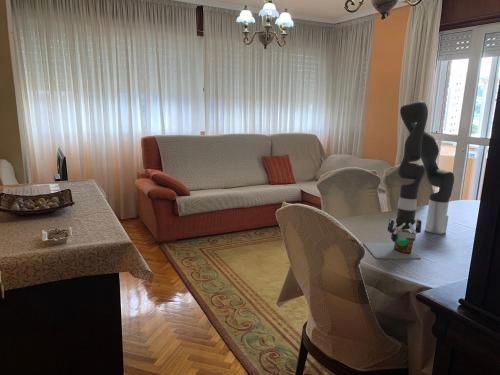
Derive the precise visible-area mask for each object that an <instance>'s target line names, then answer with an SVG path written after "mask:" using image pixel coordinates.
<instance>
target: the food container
mask: <svg viewBox="0 0 500 375" xmlns="http://www.w3.org/2000/svg"><path fill="white" fill-rule="evenodd" d="M414 239H415V240H416V238H415V234H412V232H411V230H409V229H400V230H399V231H398V232H397V233H396V241H395V242H393V243H394V249H395V250H396V251H398V252H401V253H405V254H411V250H413V245H414V242H415V241H414Z"/></svg>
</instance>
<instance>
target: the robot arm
mask: <svg viewBox="0 0 500 375" xmlns="http://www.w3.org/2000/svg"><path fill="white" fill-rule="evenodd" d="M399 113H400V118H401V119H402V122H403V125H405V127H406V129H407V131H408V133H409V135H408V136H407V138H406V140H405V143H404V149H403V150H404V151H403V157H402V160H401V163H400V165H399V167H398V171H397V173H398V176H399V178H401V179H405V180H406V179H407V180H413V181H412V182H409V183H403V184H402V185H401V186H400V192H399V198H398V203H397V212H396V219H392V218H389V219H388V224H387V226H388V227H387V232H389V233H390V234H391V235H390V240H391V241H392V243H395V241H396V233H397V232H398V231H399V230H400V229H406V230H409V231H410V232H411V233H412V234H415V239H414V242H415V241H416V236H417V234H421V232H422V220H420V219H419V218H416V214H417V213H416V211H417V206H418V205H417V204H418V202H417V199H418V192H419V187H420V185H421V181H422V180H423V178H424V176H425V175H426V178H427V180H428V183H429V184H430V185H431V186H433V187H435V188H436V187H437V188H439V189H438V192H432V193H430V194H429V199H428V207H427V214H426V222H425V227H424V228H425V229H424V230H425V232H428V233H431V234H435V235H436V234H437V235H442V234H447V228H448V221H449V215H448V209H449V203H450V199H451V197H452V193H453V187H454V184H455V183H454V182H455V174H454V173H453V172H452V171H449V170H445V169H440V168H439V167H438V164H437V158H438V155H439V152H440V148H439V146H438V143H437V141H436V139H435V137H434V136H432V135H431V134H430V133H428V132H427V131H426V130H425V129H426V126H427V121H428V116H429V110H428V106H427V104H426V102H425V101H423V100H419V101H414V102H412V103H408V104H407V103H406V104H405V105H402V106H401V107H400V109H399ZM420 160H421V162H422V163H417V162H418V161H420ZM425 173H426V174H425ZM415 218H416V219H415ZM414 224H415V228H414Z"/></svg>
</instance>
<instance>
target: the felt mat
mask: <svg viewBox="0 0 500 375" xmlns="http://www.w3.org/2000/svg"><path fill="white" fill-rule="evenodd" d="M394 243H395V242H363V244H362V245H364V247H365V248H366V249H367V250H368V252H369V253H371V255H372V256H373V257H374V259H376V260H377V259H379V260H381V259H382V260H421V259H422V257H421V256H419V254H417V253H416V252H415V251H414V250H413V249H412V250H411V254H405V253H401V252H398V251H396V250H395V249H394Z"/></svg>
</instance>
